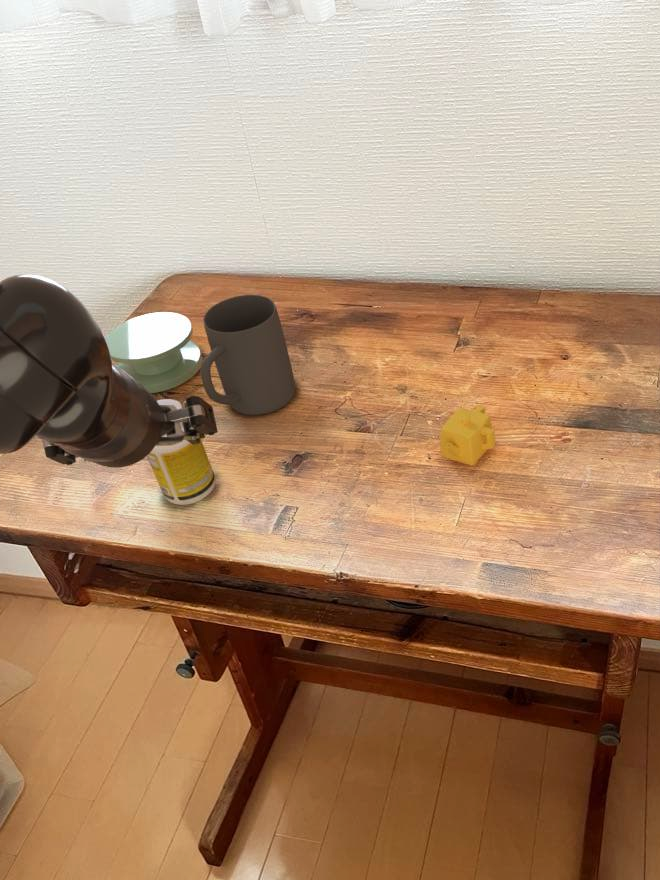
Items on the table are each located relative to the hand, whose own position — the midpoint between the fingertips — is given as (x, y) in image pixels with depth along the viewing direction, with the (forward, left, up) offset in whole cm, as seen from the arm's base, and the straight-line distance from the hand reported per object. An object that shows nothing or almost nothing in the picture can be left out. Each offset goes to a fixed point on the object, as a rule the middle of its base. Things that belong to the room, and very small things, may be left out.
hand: (151, 442), depth 81 cm
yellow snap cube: (+24, -22, -13) cm, 35 cm away
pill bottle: (+7, +6, -13) cm, 16 cm away
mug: (+23, +8, -13) cm, 28 cm away
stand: (+26, +27, -13) cm, 39 cm away
